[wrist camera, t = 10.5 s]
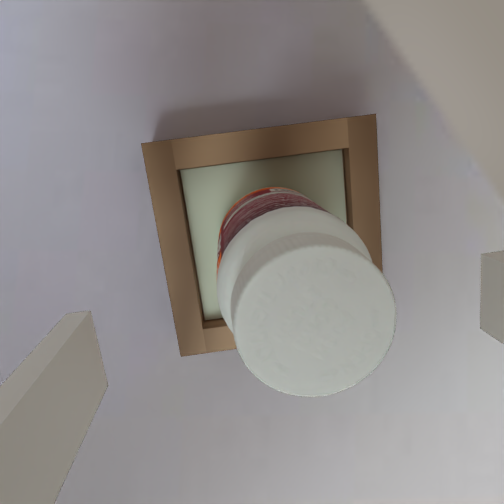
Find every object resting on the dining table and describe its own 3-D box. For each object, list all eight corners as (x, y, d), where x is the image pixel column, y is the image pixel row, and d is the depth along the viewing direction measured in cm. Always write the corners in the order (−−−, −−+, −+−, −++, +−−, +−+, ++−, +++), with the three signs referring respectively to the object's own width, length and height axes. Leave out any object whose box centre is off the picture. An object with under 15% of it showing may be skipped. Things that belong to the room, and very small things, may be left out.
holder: (185, 332, 27) (180, 356, 24) (151, 142, 24) (141, 143, 21) (366, 306, 28) (384, 327, 24) (356, 117, 24) (376, 113, 21)
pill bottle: (196, 227, 23) (171, 306, 12) (287, 162, 23) (347, 184, 12) (259, 310, 25) (287, 445, 14) (346, 251, 24) (448, 343, 13)
